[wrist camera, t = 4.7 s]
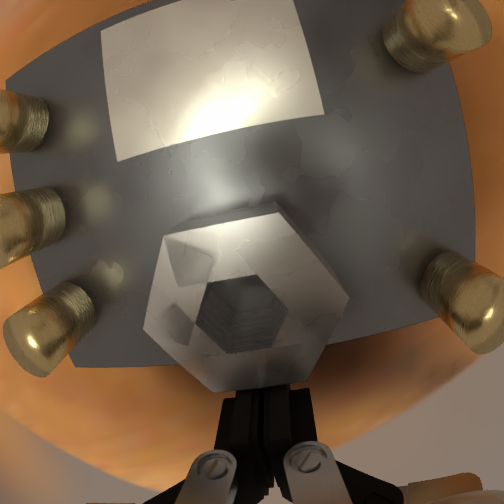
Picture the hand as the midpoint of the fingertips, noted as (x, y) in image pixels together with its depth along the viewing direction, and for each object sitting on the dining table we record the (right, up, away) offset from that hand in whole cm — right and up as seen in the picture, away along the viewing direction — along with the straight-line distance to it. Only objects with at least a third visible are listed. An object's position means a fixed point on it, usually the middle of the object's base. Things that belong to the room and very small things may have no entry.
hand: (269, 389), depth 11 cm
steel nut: (-1, +4, 0) cm, 4 cm away
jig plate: (-2, +8, -1) cm, 8 cm away
